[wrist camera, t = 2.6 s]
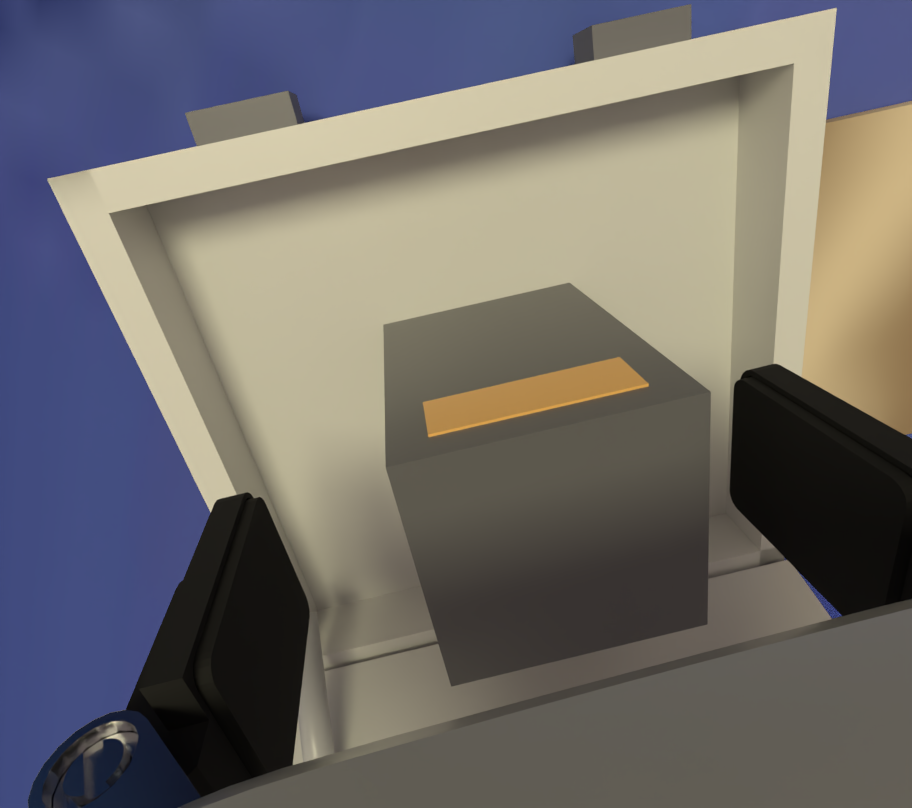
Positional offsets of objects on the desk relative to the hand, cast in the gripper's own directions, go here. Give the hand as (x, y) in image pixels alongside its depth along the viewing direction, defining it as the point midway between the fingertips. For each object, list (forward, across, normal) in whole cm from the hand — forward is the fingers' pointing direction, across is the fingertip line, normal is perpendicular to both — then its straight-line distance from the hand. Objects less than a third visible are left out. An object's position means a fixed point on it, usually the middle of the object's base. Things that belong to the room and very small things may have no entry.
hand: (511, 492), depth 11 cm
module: (+5, -1, 0) cm, 5 cm away
